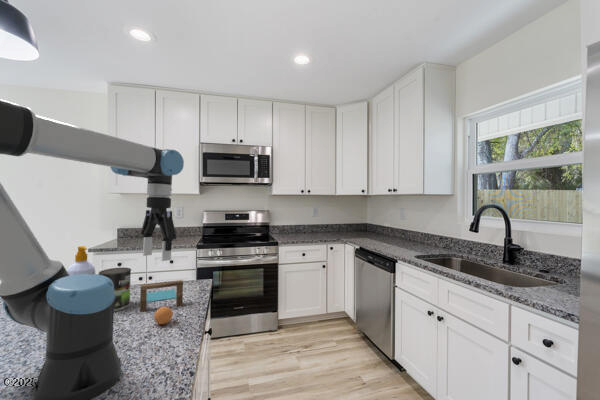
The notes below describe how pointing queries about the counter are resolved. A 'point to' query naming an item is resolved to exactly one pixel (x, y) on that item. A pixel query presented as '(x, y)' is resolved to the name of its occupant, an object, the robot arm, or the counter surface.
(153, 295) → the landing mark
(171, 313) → the ball
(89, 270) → the soap bottle
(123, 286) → the coffee can
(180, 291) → the bridge
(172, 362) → the counter surface
